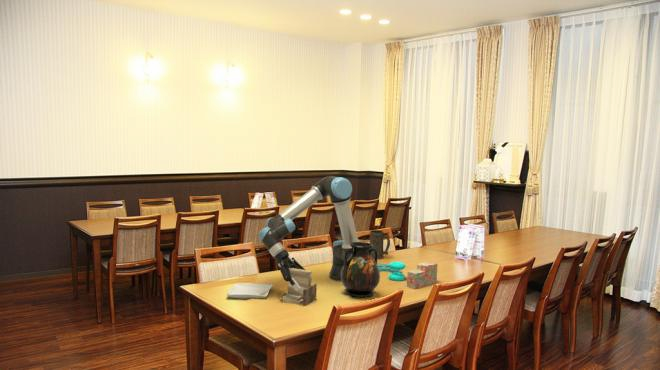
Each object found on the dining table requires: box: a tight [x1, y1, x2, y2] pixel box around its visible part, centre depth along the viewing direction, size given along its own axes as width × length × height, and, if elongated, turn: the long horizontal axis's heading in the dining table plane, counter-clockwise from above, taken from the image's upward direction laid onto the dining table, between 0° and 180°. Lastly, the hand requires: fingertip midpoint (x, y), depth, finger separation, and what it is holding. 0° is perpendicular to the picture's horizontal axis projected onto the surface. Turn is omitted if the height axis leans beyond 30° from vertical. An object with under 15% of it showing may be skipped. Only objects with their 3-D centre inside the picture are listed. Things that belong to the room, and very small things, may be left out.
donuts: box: [388, 261, 406, 282], centre depth 303 cm, size 10×10×10 cm
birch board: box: [287, 268, 313, 297], centre depth 256 cm, size 4×12×15 cm, turn 64°
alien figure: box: [377, 263, 403, 274], centre depth 324 cm, size 20×2×20 cm
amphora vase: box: [340, 241, 381, 299], centre depth 269 cm, size 22×22×28 cm
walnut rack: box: [279, 283, 318, 307], centre depth 254 cm, size 12×15×9 cm
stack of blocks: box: [406, 261, 438, 290], centre depth 292 cm, size 21×6×12 cm, turn 134°
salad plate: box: [226, 282, 273, 300], centre depth 264 cm, size 21×21×3 cm
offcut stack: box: [282, 293, 303, 306], centre depth 251 cm, size 4×10×3 cm, turn 64°
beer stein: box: [369, 229, 391, 260], centre depth 358 cm, size 15×11×20 cm
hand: (304, 286), depth 255 cm, fingers open, 11 cm apart
